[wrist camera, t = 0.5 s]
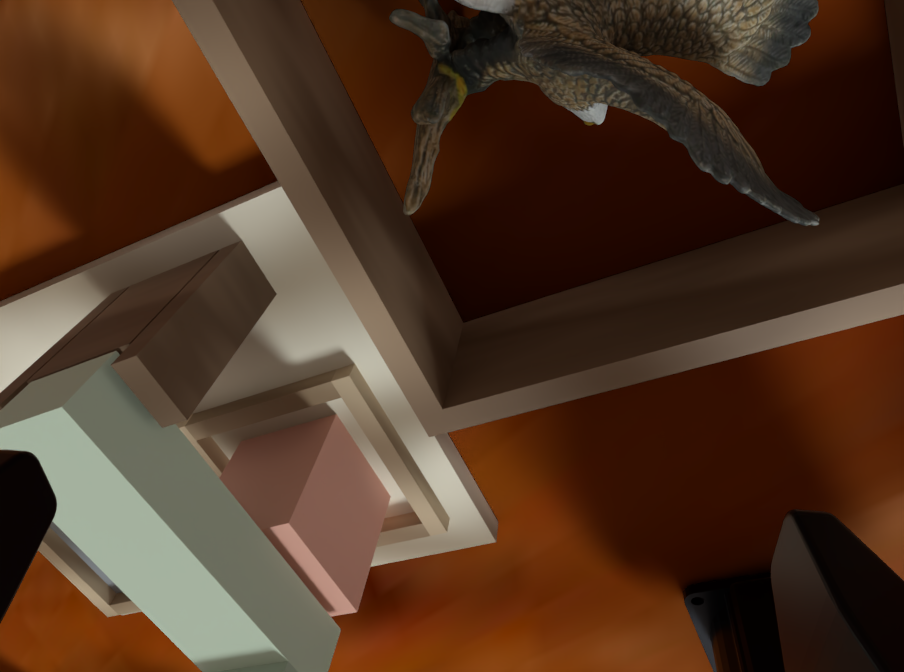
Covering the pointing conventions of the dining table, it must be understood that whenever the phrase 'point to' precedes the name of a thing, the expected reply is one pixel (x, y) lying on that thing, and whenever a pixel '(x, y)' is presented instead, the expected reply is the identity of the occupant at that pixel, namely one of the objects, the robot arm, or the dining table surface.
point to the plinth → (553, 317)
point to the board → (241, 366)
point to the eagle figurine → (611, 71)
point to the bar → (166, 526)
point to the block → (313, 505)
